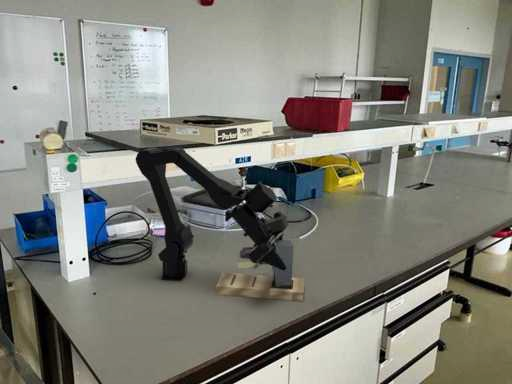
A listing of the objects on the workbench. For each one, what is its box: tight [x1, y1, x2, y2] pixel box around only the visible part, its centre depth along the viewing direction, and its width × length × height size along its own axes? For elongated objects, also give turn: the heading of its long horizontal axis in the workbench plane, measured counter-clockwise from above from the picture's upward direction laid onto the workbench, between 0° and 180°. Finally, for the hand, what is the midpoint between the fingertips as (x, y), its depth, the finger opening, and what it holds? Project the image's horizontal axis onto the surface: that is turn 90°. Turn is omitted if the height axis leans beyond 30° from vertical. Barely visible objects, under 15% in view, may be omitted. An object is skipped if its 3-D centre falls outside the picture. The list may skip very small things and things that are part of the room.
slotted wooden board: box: [215, 272, 305, 302], centre depth 121 cm, size 24×9×3 cm, turn 83°
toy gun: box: [236, 245, 274, 270], centre depth 141 cm, size 18×5×15 cm
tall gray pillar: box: [272, 239, 294, 289], centre depth 118 cm, size 4×4×13 cm
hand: (287, 265), depth 118 cm, fingers closed on tall gray pillar, 6 cm apart
